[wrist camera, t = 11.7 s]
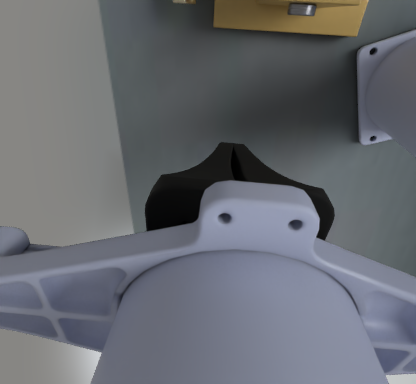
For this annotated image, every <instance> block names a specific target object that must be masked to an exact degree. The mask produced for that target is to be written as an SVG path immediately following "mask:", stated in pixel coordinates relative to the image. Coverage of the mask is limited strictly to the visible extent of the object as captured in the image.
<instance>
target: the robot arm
mask: <svg viewBox="0 0 416 384" xmlns="http://www.w3.org/2000/svg"><path fill="white" fill-rule="evenodd" d="M373 47H374V48H375V52H374V53H373V54H372V55H370V53H369V52H370V50H371V49H372V48H373ZM357 88H358V124H359V142H360V143H361V144H362V145H369V144H373V143H377V142H381V141H386V140H390V139H394V140H395V141H396V142H397V143H399V144H400V145H401V146H402V147H403V148H405V149H406V150H407V151H408V152H409V153H411V154H412V155H413V156H414V157H415V158H416V29H414V30H411V31H408V32H405V33H402V34H399V35H396V36H393V37H390V38H387V39H384V40H381V41H378V42H375V43H372V44H369V45H365V46H363V47H361V48H360V49H359V50H358V52H357ZM371 136H375V137H374V138H373V139H371V140H370V137H371ZM334 216H335V214H334V208H333V206H332V204H331V202H330V200H329V198H328V196H327V194H326V193H325V191H324V190H323V189H322V188H317V187H313V186H309V185H305V184H302V183H299V182H296V181H294V180H291V179H289V178H287V177H284V176H282V175H280V174H279V173H277V172H275V171H273V170H272V169H270V168H269V167H267V166H266V165H265V164H264V163H262V162H261V161H260V160H259V159H258V158H257V157H256V156H254V155H253V154H252V152H251V151H250V150H249V149H248V148H247V147H246V146H245V145H244V144H235V143H224V142H221V143H219V144H218V146H217V148H216V149H215V150H214V152H213V153H212V154H211V155H210V156H209V157H208V158H207V159H206V160H204V161H203V162H202V163H200V164H199V165H197V166H195V167H192V168H190V169H188V170H185V171H182V172H178V173H172V174H163V175H161V176H160V178H159V179H158V181H157V182H156V184H155V185H154V187H153V188H152V190H151V192H150V195H149V197H148V200H147V202H146V205H145V217H146V228H147V232H141V233H136V234H130V235H125V236H120V237H114V238H108V239H104V240H98V241H92V242H87V243H81V244H76V245H70V246H65V247H58V246H48V245H36V244H30V242H29V238H28V236H27V235H26V233H25V232H24V231H23V230H21V229H19V228H14V227H4V226H0V328H1V329H6V330H12V331H17V332H22V333H26V334H31V335H35V336H39V337H43V338H47V339H51V340H55V341H59V342H63V343H67V344H71V345H74V346H79V347H83V348H86V349H90V350H94V351H98V352H102V354H101V357H100V360H99V362H98V365H97V367H96V370H95V373H94V376H93V378H92V381H91V384H389V383H388V381H387V378H386V376H385V375H395V374H414V373H415V374H416V277H414V276H412V275H409V274H407V273H404V272H402V271H399V270H397V269H394V268H392V267H389V266H387V265H384V264H382V263H379V262H376V261H374V260H371V259H369V258H366V257H364V256H361V255H359V254H356V253H354V252H351V251H349V250H346V249H344V248H341V247H339V246H336V245H334V244H331V243H329V242H326V241H325V239H326V237H327V234H328V232H329V230H330V228H331V226H332V223H333V220H334Z"/></svg>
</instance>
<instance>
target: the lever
mask: <svg viewBox="0 0 416 384" xmlns="http://www.w3.org/2000/svg"><path fill="white" fill-rule="evenodd" d="M173 3H178V4H196V0H173Z"/></svg>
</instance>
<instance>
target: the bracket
mask: <svg viewBox="0 0 416 384" xmlns="http://www.w3.org/2000/svg"><path fill="white" fill-rule="evenodd" d="M367 3H368V0H215V5H214V23H213V27H215V28H230V29H245V30H260V31H275V32H290V33H305V34H320V35H334V36H349V37H356V36H357V34H358V31H359V27H360V24H361V21H362V18H363V15H364V12H365V9H366V6H367Z"/></svg>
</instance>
